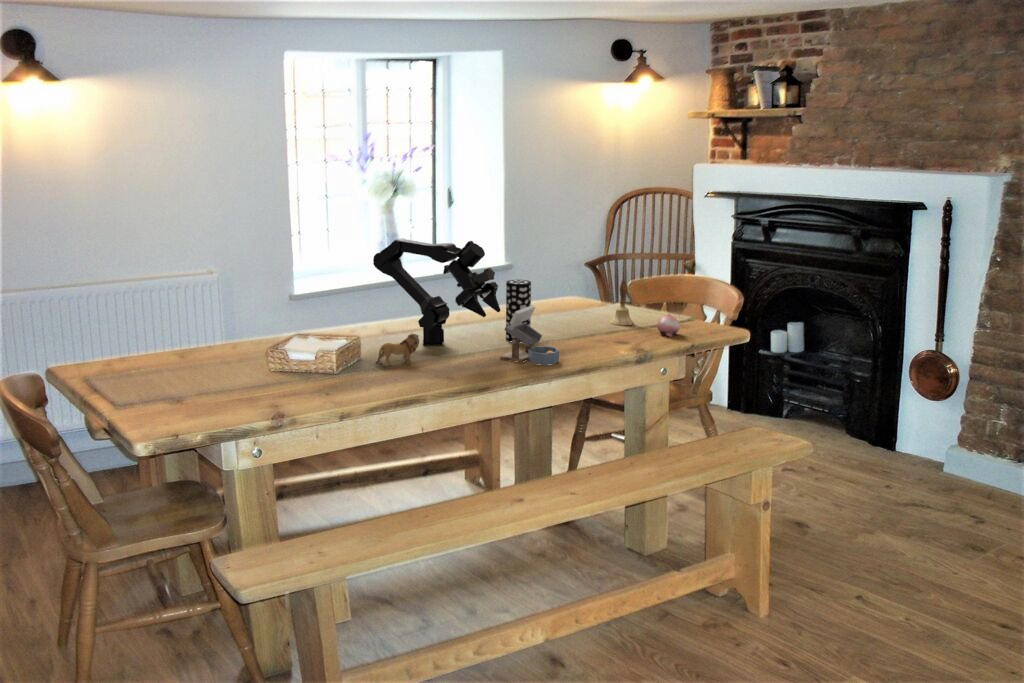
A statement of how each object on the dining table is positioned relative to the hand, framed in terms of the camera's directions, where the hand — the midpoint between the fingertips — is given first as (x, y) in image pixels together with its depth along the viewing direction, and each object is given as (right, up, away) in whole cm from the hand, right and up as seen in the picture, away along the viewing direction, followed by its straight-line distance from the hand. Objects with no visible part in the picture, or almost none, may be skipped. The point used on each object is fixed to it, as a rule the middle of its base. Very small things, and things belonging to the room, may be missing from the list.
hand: (492, 313), depth 348 cm
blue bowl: (+16, -15, -6) cm, 23 cm away
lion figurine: (-29, -16, -9) cm, 34 cm away
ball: (+18, -13, -8) cm, 24 cm away
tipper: (+10, -7, -4) cm, 13 cm away
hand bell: (+46, -2, +46) cm, 66 cm away
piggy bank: (+61, -7, +30) cm, 68 cm away
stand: (+8, -14, -2) cm, 16 cm away
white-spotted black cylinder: (+8, -8, +21) cm, 24 cm away
